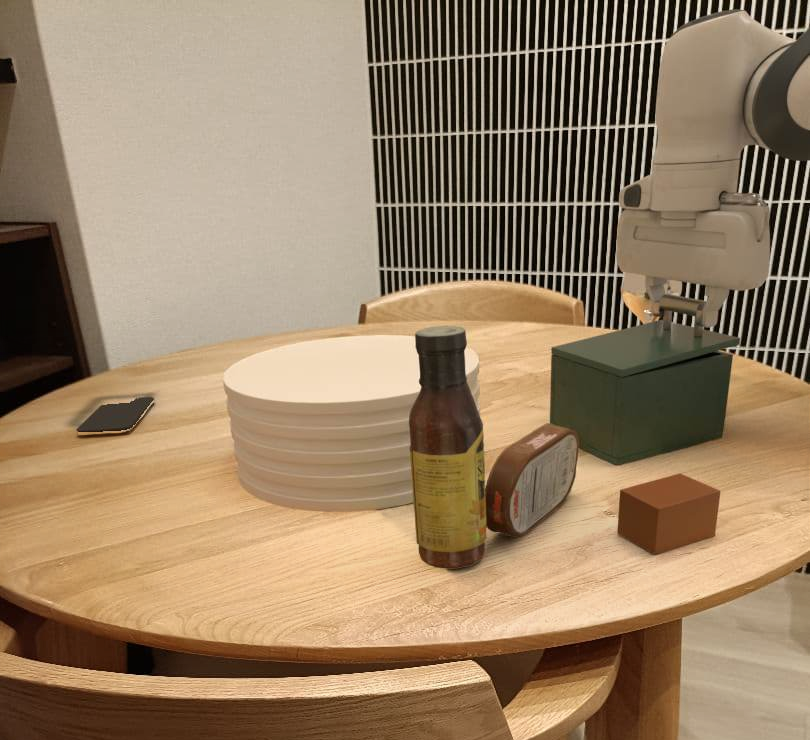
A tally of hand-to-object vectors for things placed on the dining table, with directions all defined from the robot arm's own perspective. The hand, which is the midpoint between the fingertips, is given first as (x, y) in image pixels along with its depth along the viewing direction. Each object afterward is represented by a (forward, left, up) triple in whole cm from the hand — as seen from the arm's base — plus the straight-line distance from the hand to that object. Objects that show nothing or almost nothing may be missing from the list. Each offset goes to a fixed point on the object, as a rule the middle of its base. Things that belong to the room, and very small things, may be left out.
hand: (682, 320), depth 94 cm
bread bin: (+6, 0, -13) cm, 14 cm away
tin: (+29, +13, -13) cm, 34 cm away
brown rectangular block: (+21, +22, -13) cm, 33 cm away
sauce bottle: (+39, +15, -13) cm, 44 cm away
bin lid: (+6, 0, -2) cm, 6 cm away
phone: (+59, -46, -13) cm, 76 cm away
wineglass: (-12, -19, -13) cm, 26 cm away
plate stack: (+37, -11, -13) cm, 41 cm away
